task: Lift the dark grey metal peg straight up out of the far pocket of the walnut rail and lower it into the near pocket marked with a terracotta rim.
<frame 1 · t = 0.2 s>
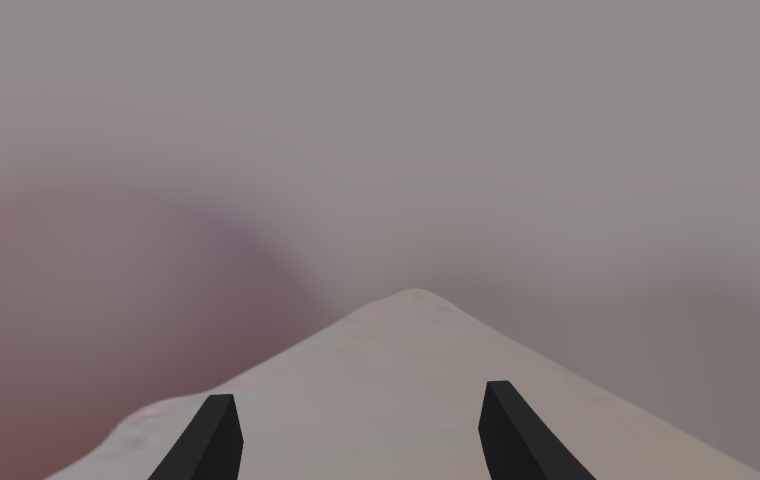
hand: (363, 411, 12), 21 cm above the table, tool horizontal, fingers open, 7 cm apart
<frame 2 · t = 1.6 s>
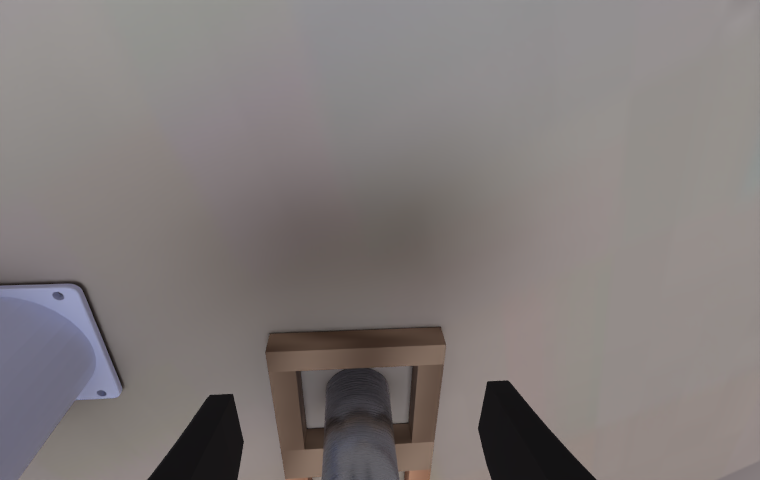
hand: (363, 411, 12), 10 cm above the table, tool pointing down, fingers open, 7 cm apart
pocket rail: (358, 440, 28), on the table
metal peg: (357, 389, 26), resting in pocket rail
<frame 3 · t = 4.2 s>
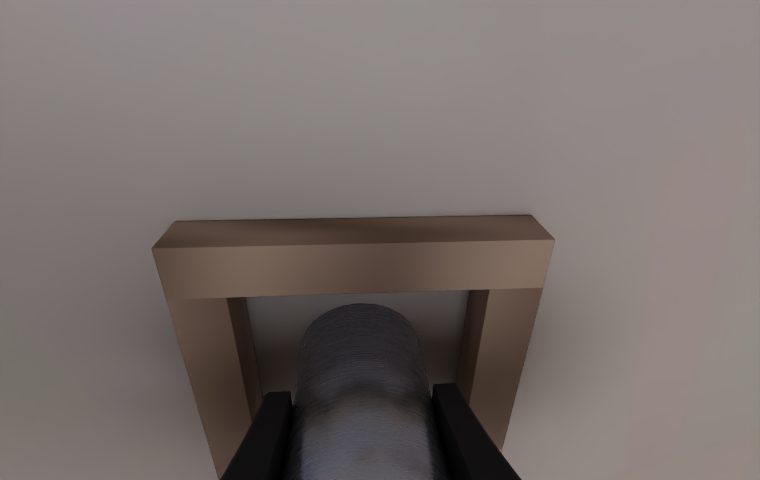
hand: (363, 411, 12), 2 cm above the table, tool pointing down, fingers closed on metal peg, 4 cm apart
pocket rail: (361, 445, 16), on the table
metal peg: (360, 351, 14), resting in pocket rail, touching gripper
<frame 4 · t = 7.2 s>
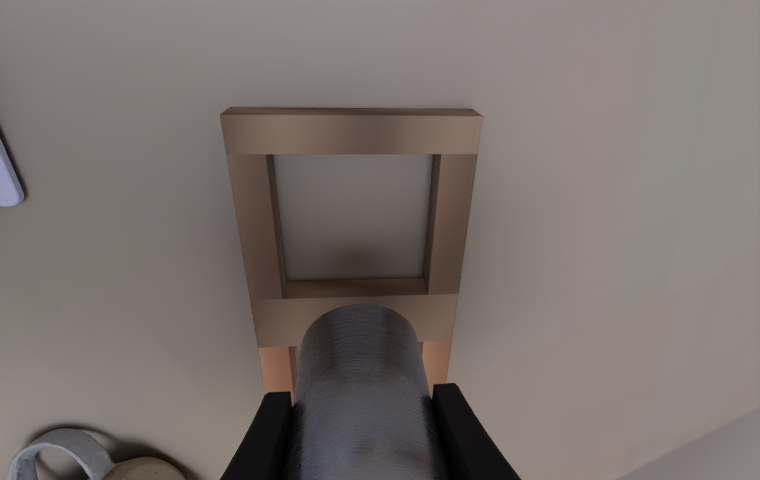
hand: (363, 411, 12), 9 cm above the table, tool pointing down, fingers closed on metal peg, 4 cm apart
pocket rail: (355, 303, 21), on the table
metal peg: (360, 350, 14), point 7 cm above the table, touching gripper
ceramic mug: (114, 469, 27), on the table
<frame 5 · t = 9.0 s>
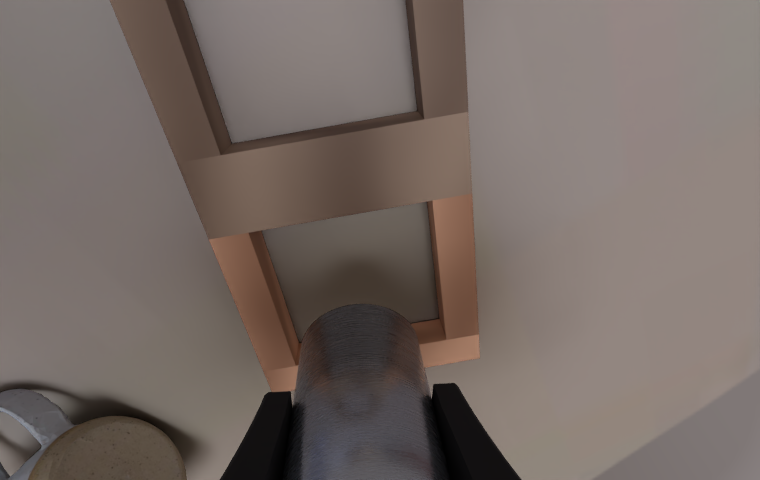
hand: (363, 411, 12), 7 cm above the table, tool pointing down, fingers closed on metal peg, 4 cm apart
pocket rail: (332, 165, 16), on the table
metal peg: (360, 351, 14), point 5 cm above the table, touching gripper
ceramic mug: (91, 439, 22), on the table
when the fingers open (3 cm above the table, at t = 10.2 s): metal peg stays where it is, resting in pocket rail.
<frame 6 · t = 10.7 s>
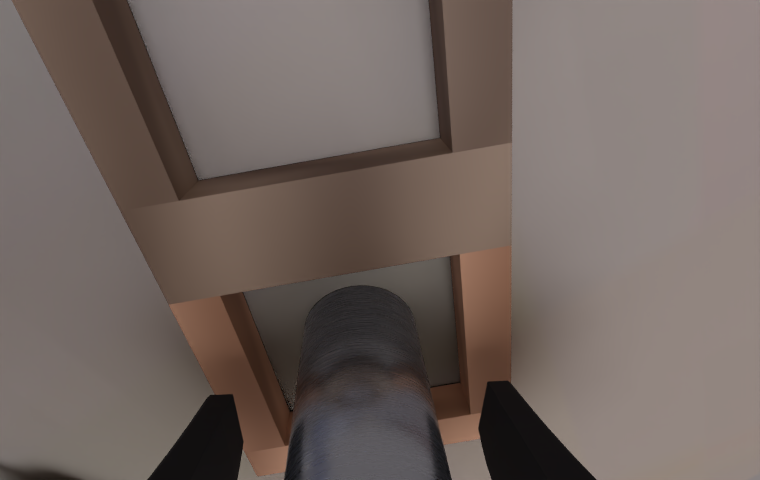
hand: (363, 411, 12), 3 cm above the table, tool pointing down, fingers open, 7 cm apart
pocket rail: (330, 207, 12), on the table
metal peg: (360, 331, 15), resting in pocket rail
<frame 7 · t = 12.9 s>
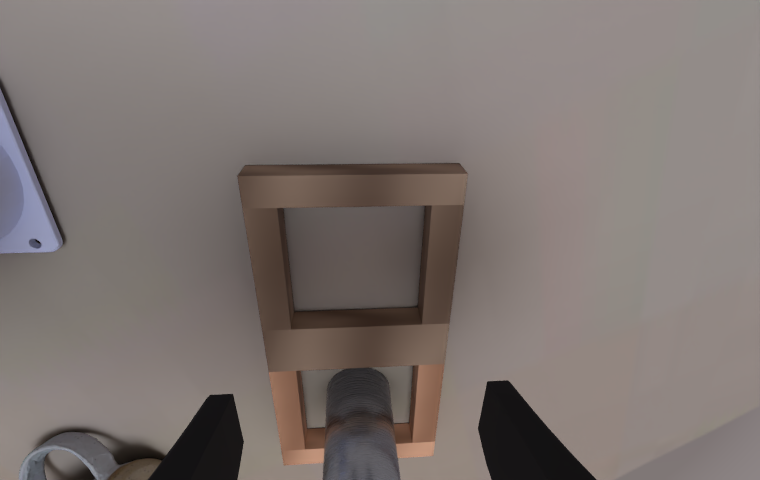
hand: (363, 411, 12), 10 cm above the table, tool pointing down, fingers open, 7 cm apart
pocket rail: (357, 330, 23), on the table
metal peg: (358, 389, 26), resting in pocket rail
ceramic mug: (118, 470, 28), on the table
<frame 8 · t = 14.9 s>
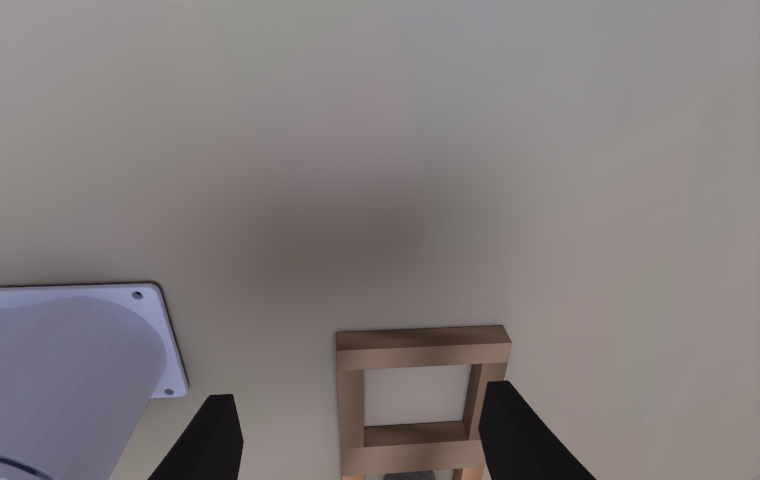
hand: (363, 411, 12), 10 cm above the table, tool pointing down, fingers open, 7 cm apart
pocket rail: (412, 438, 29), on the table
metal peg: (408, 479, 31), resting in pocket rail
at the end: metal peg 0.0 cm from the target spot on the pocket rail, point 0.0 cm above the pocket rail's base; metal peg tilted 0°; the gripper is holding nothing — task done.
